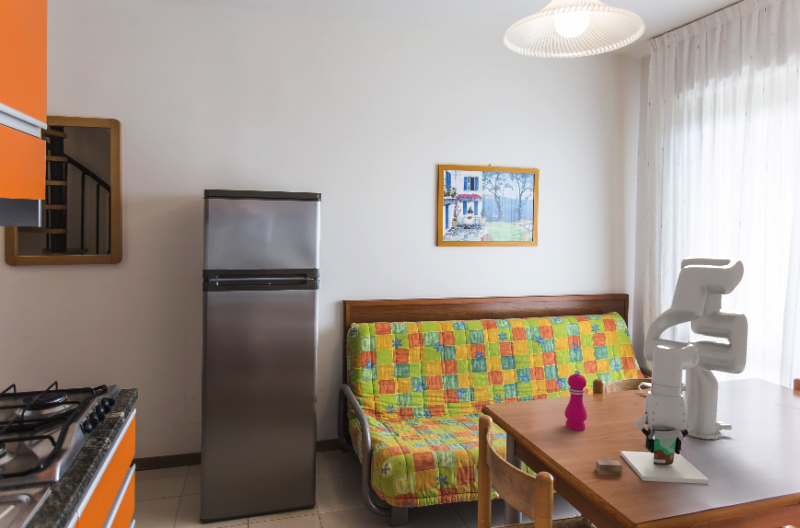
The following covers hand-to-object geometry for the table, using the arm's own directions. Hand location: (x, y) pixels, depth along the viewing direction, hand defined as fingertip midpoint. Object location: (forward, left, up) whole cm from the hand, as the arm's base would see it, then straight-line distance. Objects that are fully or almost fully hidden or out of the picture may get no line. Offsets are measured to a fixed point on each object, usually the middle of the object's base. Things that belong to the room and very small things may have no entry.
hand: (663, 451), depth 142 cm
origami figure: (-26, -69, -5) cm, 74 cm away
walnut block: (+16, +4, -5) cm, 18 cm away
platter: (0, 0, -5) cm, 5 cm away
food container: (-1, 0, -3) cm, 3 cm away
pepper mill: (+16, -29, -5) cm, 33 cm away
